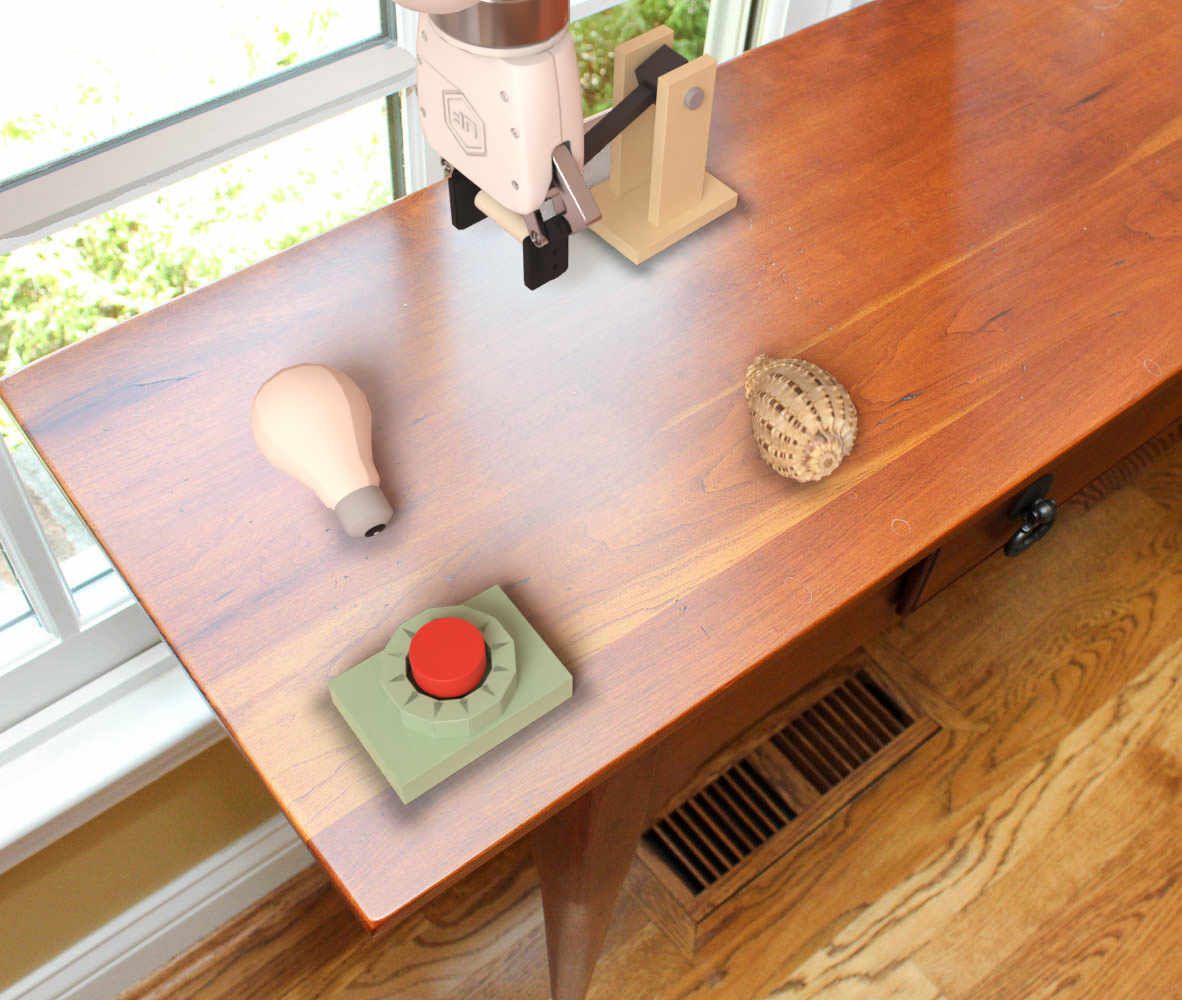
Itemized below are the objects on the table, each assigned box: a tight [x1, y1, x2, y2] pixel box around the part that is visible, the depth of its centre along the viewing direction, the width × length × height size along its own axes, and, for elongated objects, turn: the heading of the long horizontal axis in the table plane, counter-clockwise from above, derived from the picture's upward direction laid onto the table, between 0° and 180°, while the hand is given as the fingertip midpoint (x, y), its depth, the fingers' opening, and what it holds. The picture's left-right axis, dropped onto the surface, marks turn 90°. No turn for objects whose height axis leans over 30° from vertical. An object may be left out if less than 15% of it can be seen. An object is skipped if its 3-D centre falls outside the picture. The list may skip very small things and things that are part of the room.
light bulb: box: [249, 362, 394, 538], centre depth 69 cm, size 7×7×11 cm
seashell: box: [744, 353, 859, 484], centre depth 76 cm, size 8×6×10 cm
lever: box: [474, 44, 689, 246], centre depth 78 cm, size 16×5×2 cm, turn 136°
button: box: [409, 617, 486, 698], centre depth 60 cm, size 4×4×2 cm
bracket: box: [588, 24, 739, 266], centre depth 83 cm, size 10×7×13 cm
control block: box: [326, 583, 574, 806], centre depth 62 cm, size 10×7×4 cm
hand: (509, 247), depth 79 cm, fingers open, 6 cm apart
